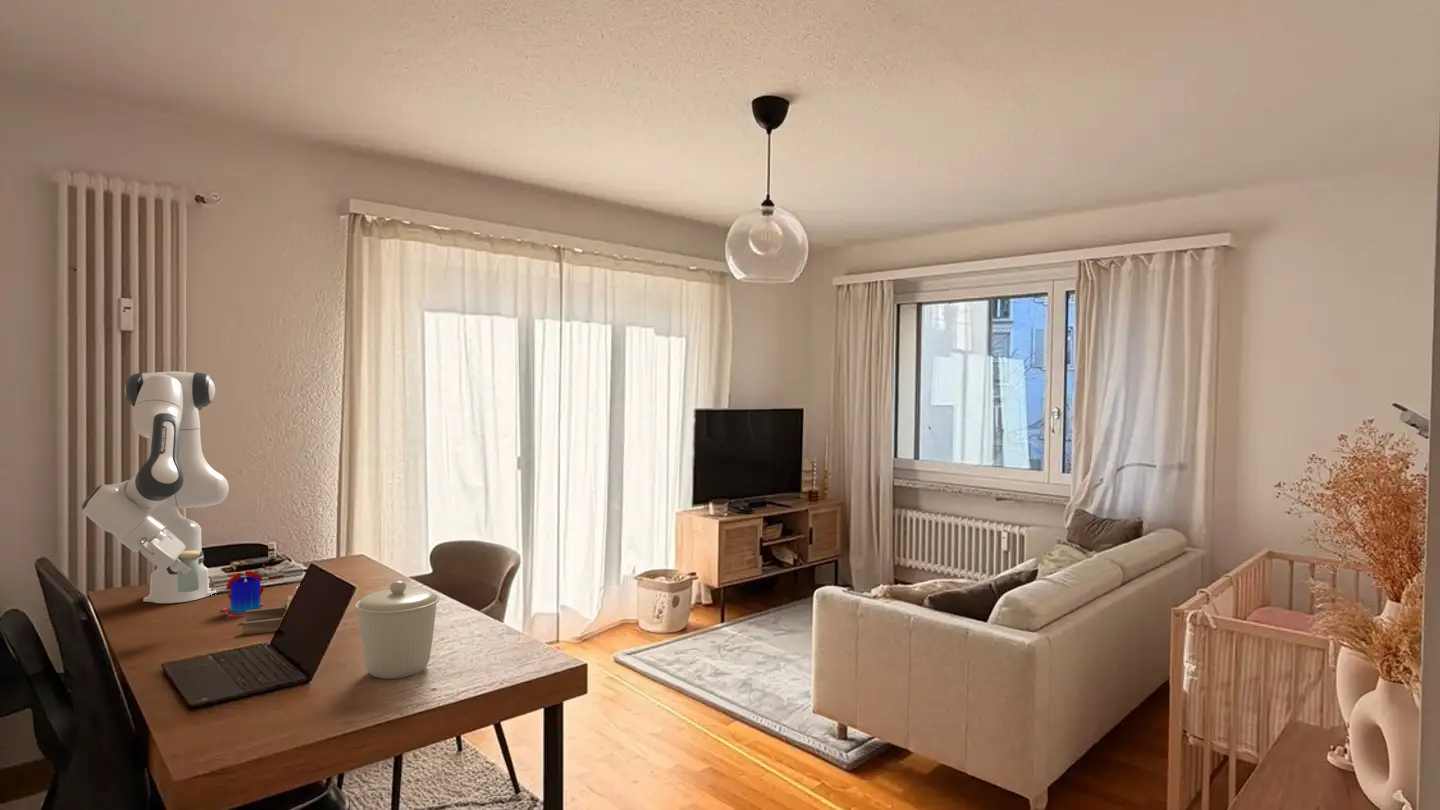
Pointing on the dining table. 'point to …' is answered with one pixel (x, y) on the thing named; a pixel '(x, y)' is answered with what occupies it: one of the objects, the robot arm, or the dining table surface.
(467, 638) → the dining table surface
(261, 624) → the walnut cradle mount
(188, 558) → the grey-green capped cylinder
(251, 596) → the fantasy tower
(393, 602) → the canister
